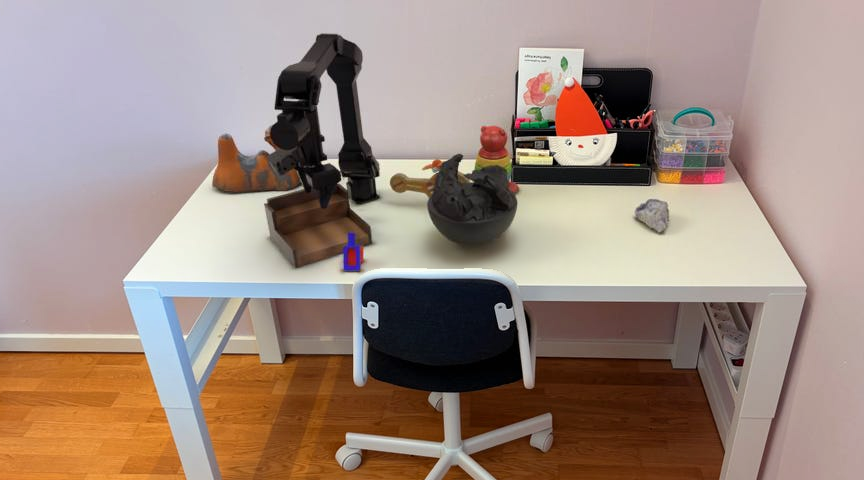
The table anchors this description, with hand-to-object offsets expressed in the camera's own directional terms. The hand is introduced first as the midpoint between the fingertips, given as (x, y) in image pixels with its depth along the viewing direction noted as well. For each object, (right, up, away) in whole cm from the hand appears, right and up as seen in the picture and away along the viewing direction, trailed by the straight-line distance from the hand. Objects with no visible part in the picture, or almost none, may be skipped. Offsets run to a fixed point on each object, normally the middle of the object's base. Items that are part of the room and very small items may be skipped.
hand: (316, 200), depth 156 cm
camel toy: (-22, +8, +39) cm, 45 cm away
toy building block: (+8, -14, +3) cm, 16 cm away
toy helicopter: (+25, 0, +25) cm, 35 cm away
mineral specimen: (+76, -4, +15) cm, 78 cm away
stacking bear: (+39, +5, +31) cm, 51 cm away
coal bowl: (+34, -8, +10) cm, 36 cm away
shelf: (-1, -8, +12) cm, 15 cm away
